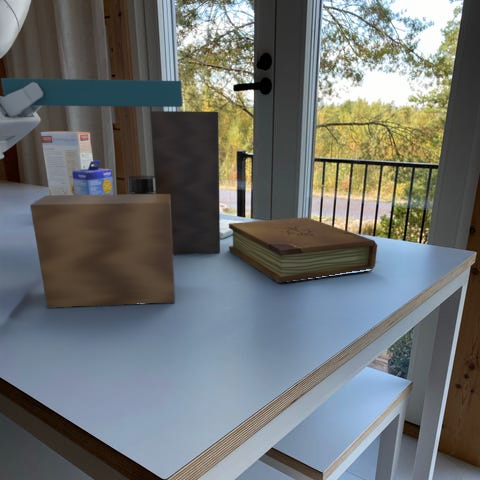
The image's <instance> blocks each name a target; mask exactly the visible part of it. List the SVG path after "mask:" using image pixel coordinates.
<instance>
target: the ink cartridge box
mask: <svg viewBox="0 0 480 480" xmlns="http://www.w3.org/2000/svg"><path fill="white" fill-rule="evenodd" d="M92 164H93V166H91V165H92ZM94 164H96V165H94ZM100 164H101V160H93V161H91V163H90V165H89V168H88V169H82V170H76V171H72V174H73V183H74V192H75V195H114V184H113V183H114V180H113V169H110V168H102V167H101V168H99V167H100V166H101V165H100Z"/></svg>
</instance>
